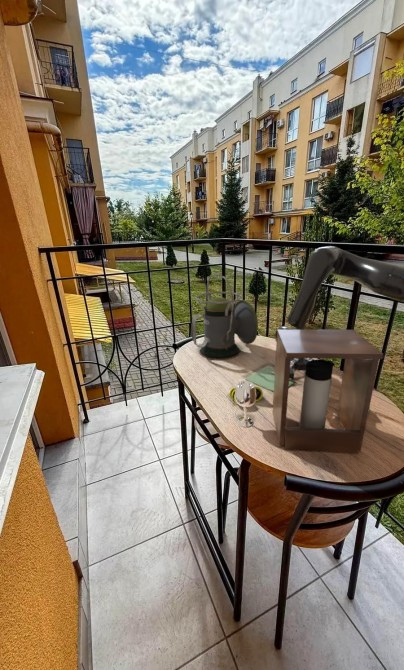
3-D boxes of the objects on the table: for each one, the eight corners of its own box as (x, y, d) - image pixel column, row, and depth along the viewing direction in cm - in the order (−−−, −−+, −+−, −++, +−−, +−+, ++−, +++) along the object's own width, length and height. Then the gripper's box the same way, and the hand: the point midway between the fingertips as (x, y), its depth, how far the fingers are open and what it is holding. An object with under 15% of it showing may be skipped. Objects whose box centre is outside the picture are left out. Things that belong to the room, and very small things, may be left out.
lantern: (265, 354, 122) (268, 273, 110) (204, 368, 112) (201, 280, 100) (236, 336, 143) (237, 267, 131) (183, 347, 133) (178, 272, 121)
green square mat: (267, 366, 111) (267, 365, 111) (300, 378, 101) (300, 377, 101) (245, 379, 102) (245, 378, 102) (278, 394, 92) (278, 393, 92)
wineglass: (241, 431, 76) (242, 393, 72) (231, 419, 81) (231, 382, 77) (259, 424, 78) (260, 387, 74) (248, 413, 83) (248, 378, 79)
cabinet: (272, 412, 83) (277, 329, 74) (341, 414, 81) (354, 329, 72) (279, 449, 69) (286, 352, 60) (363, 454, 67) (383, 354, 58)
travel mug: (329, 436, 73) (340, 367, 66) (305, 438, 72) (312, 369, 66) (318, 421, 79) (326, 356, 72) (295, 423, 78) (301, 358, 71)
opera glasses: (256, 395, 94) (255, 381, 93) (263, 401, 89) (262, 386, 88) (229, 401, 91) (227, 386, 90) (235, 407, 86) (234, 391, 85)
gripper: (276, 343, 95) (283, 365, 80) (320, 344, 93) (336, 366, 78) (275, 363, 97) (281, 388, 82) (317, 364, 95) (332, 389, 80)
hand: (308, 377), depth 80 cm, fingers open, 8 cm apart
